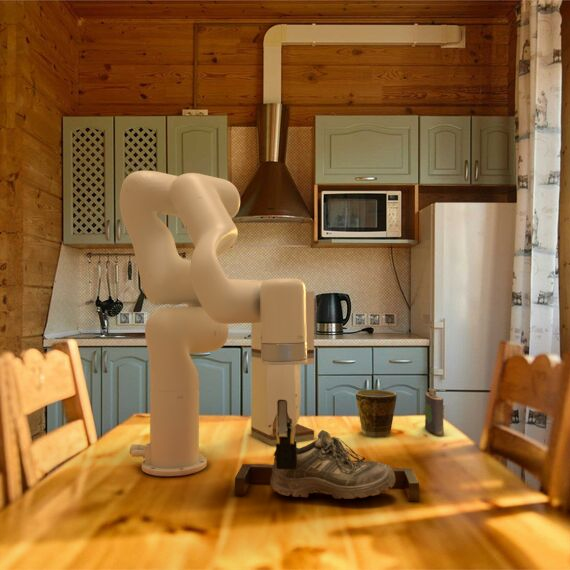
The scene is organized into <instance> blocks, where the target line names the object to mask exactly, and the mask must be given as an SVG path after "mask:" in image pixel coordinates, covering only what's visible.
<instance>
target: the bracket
mask: <svg viewBox="0 0 570 570" xmlns="http://www.w3.org/2000/svg"><path fill="white" fill-rule="evenodd" d="M273 466H274V464H265V463H264V464H263V463H262V464H261V463H260V464H259V463H242V464H241V466H240V467H239V470H238V471H237V473H236V475H235V477H234V496H238V497H239V496H240V497H243V496H244V497H245V494H246V492H247V490H248V488H249V486H250V484H253V485H254V484H255V485H258V484H259V485H270V479H271V475H272V467H273ZM391 468H392V469H393V471H394V474H395V484H394V486H393V487H392V488H390V487H389V489H404V491H405V494H406V497H407V499H408V502H414V503H415V502H420V483H419V481H418V478H417V476H416V474H415V471H414V470H413V468H403V467H391Z"/></svg>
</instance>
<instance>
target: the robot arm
mask: <svg viewBox="0 0 570 570" xmlns="http://www.w3.org/2000/svg"><path fill="white" fill-rule="evenodd" d="M118 204H119V212H120V216H121V219H122V222H123V224H124V227H125V230H126V232H127V234H128V236H129V239H130V241H131V244H132V247H133V248H132V249H133V251H134V257H135V261H136V266H137V270H138V274H139V278H140V283H141V286H142V290H143V293H144V295H145V297H146V299H147V300H148V301H150V302H152V303H155V304H161V305H162V304H163V305H183V304H184V305H187V306H165V307H162V308H159V309H157V310H155V311H153V312H151V314H150V315H149V316H148V318H147V320H146V323H145V326H144V335H145V342H146V347H147V352H148V353H147V354H148V360H149V389H150V390H149V391H150V392H149V394H150V395H149V396H150V397H149V399H150V400H149V412H150V413H149V443H146V444H144V445H143V444H133V443H132V444H131V445H130V447H129V454H130V455H131V457H133V458H139V457H142V458H143V459H144V460H142V462H141V470H142V471H143V473H146V475H151V476H156V477H180V476H187V475H192V474H195V473H199V472H200V471H202V470H204V469H205V468H206V467H207V464H208V462H207V458H206V457H205V456H204V455H202V454H200V376H199V372H198V369H197V367H196V364H195V363H194V361H193V359H192V357H191V354H199V353H209V352H215V351H217V350H221V348H223V347H224V346H225V344H226V343H227V340H228V338H229V332H230V331H229V325H233V324H251V323H261V363H262V364H267V374H266V426H267V427H268V428H270V427H271V425H273V424H274V422H275V420H276V437H277V443H276V445H275V451H276V467H277V469H296V466H297V448H298V447H297V444H298V443H297V442H294V441H295V426H296V425H297V424H299V419H300V414H301V399H302V398H301V397H302V394H301V393H302V388H301V387H302V385H301V381H302V380H301V378H302V377H301V365H300V364H303V363H307V327H306V291H307V290H306V285H305V283H304V281H303V280H302V279H299V278H296V277H295V278H294V277H275V278H269V279H265V280H262V279H248V278H247V279H246V278H228V276H227V274H226V273H225V271H224V269H223V268H222V266H221V263H220V261H219V260H218V257H219V256H221V255H222V254H225V253H226V252H227V251H228V250H229V249H231V248H232V246H233V245H235V243H236V241H237V239H238V236H239V232H238V227H237V226H236V224H235V223H234V221H233V219H234V218H235V217H236V215H237V214H238V213H239V211H240V207H241V196H240V193H239V191H238V189H237V187H236V186H235V184H234V183H232V182H231V181H229V180H227V179H224V178H221V177H216V176H211V175H207V174H203V173H197V172H186V173H183V174H180V175H174V174H169V173H166V172H161V171H155V170H137V171H133V172H131V173H129V174H128V175H127V176H126V177H125V178H124V180H123V182H122V184H121V188H120V192H119V203H118ZM158 214H160V215H165V216H171V217H172V216H173V217H179V219H180V221H181V223H182V225H183V227H184V229H185V231H186V232H187V235H188V236H189V238H190V240H191V242H192V244H193V246H194V250H193V252H192V255H191V259H189V258H182V257H181V256H180V255H179V253H178V252H179V251H178V250H177V246H176V241H175V238H174V236H173V234H172V231H170V229H169V228H168V226H167V225H166V224H165V222H164V221H163V220H162V219H161V218H160V217H159V215H158Z"/></svg>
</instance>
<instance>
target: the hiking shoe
mask: <svg viewBox="0 0 570 570" xmlns="http://www.w3.org/2000/svg"><path fill="white" fill-rule="evenodd" d="M317 437H318V438H317V439H316V440H313V441H312V442H311V443H309V444H307V445H305V446H302V447H297V466H296V469H277V467H276V450H274V452H273V457H274V459H273V465H274V466H273V467H272V475H271V479H270V484H269V485H270V487H271V489H272V490H273V491H275V492H277V493H278V494H280V495H282V496H287V497H290V496H292V497H294V498H298V497H299V498H300V497H301V498H309V495H310V494H314V493H320V494H325V495H331V497H332V498H333V499H342V498H343V499H345V500H346V499H347V500H349V499H356V498H360V499H362V498H367V497H369V496H372V497H374V496H377V495H381V493H383V492H388V491H389V489H393V488H392V487H393V486H394V484H395V474H394V471H393V469H392V468H393V467H391V466H390V464H388V463H386V464H385V463H382V462H378V461H373V460H370V461H369V460H368V461H365V460H366V458H365V457H364V456H362V455H360V454H358V453H356V452H355V451H354V450H353V449H352V448H351V447H350V446H349V445H347V444H346V443H345V442H344V441H343V440H342V439H340V438H339V437H337V436H331V434H330V433H329V432H328V431H327V430H323V429H322V430H320V431H319V432H318V434H317ZM343 444H344V445H345V446H344V445H343ZM346 447H347V448H346ZM351 457H352V458H353V459H355V460H353V459H351ZM359 457H361V459H360V458H359ZM389 487H390V488H389Z"/></svg>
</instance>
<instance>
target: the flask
mask: <svg viewBox="0 0 570 570" xmlns="http://www.w3.org/2000/svg"><path fill="white" fill-rule="evenodd" d="M437 391H438V389H437V388H436V389H434V388H428V392H425V394H424V395H425V396H424V397H425V398H424V399H425V403H424V405H425V406H424V407H425V408H424V409H425V411H424V413H425V414H424V417H425V419H424V430H425V431H426V432H428V433H430V434H431V435H434V436H435V437H441V436H444V433H445V432H444V398H442V397H440V396H438V395H437Z"/></svg>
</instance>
